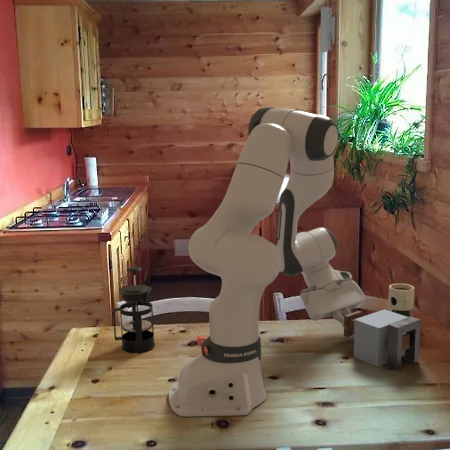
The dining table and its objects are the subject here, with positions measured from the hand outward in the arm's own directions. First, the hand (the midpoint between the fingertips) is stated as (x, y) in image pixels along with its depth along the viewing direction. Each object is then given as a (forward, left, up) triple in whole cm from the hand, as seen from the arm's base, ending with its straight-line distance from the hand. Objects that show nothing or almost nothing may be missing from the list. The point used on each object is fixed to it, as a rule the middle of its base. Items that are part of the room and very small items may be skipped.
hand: (349, 325), depth 161 cm
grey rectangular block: (+5, -10, -5) cm, 12 cm away
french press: (-58, +12, -5) cm, 60 cm away
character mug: (+19, +6, -5) cm, 20 cm away
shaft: (+4, -9, -2) cm, 10 cm away
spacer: (+8, -16, -5) cm, 19 cm away
